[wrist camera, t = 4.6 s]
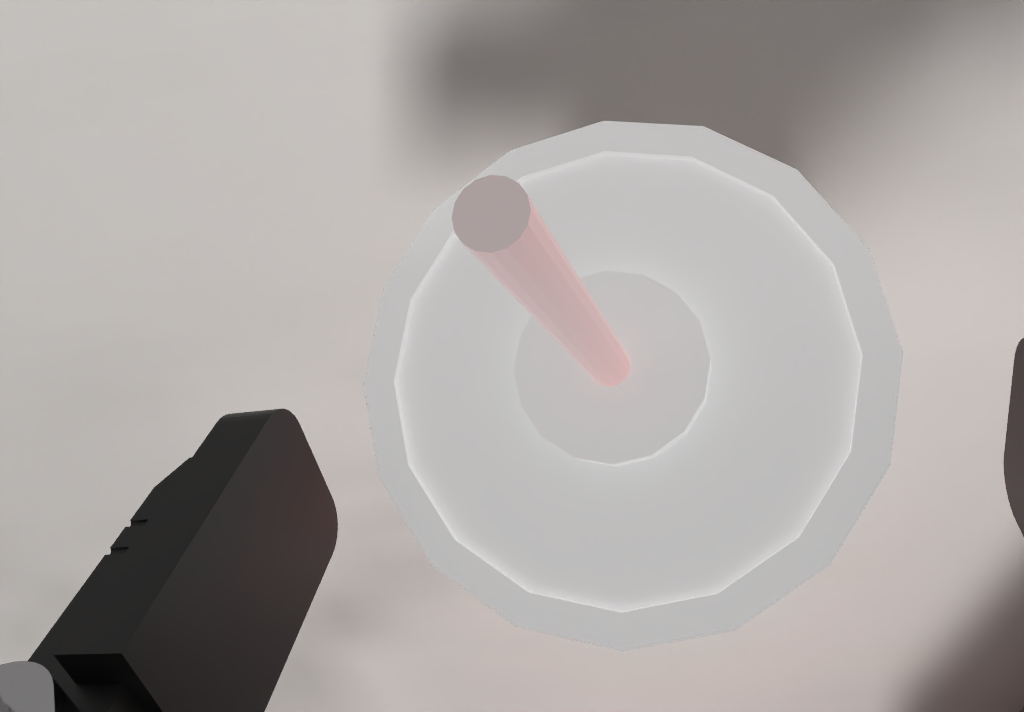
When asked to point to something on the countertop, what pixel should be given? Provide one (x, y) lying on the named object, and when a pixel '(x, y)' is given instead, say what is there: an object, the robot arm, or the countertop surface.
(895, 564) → the countertop surface
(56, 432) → the countertop surface
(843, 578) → the countertop surface
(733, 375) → the beverage cup
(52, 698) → the robot arm
